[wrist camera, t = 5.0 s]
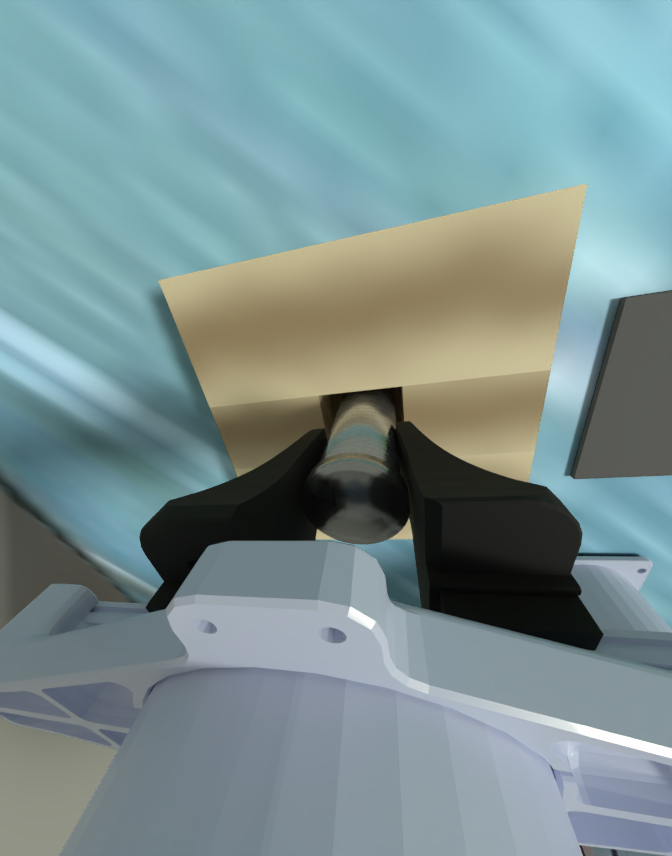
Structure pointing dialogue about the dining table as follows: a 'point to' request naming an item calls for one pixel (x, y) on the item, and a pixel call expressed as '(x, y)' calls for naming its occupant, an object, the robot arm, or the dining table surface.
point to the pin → (359, 473)
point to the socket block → (390, 332)
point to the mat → (632, 396)
